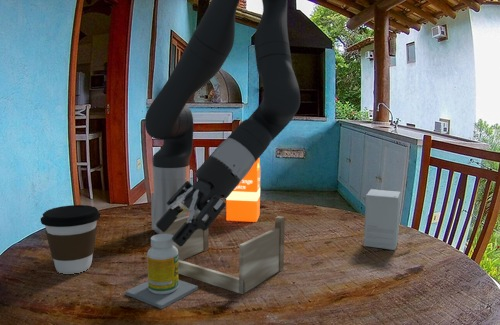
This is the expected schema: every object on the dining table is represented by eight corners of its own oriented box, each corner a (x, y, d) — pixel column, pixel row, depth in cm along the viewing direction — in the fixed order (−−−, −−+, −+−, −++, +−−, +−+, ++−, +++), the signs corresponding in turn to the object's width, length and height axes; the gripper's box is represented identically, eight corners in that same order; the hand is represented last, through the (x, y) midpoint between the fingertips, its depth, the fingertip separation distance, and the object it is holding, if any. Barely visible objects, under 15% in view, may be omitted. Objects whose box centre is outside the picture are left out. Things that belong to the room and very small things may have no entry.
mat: (125, 294, 75) (125, 291, 75) (162, 277, 82) (162, 274, 82) (161, 308, 70) (161, 305, 70) (198, 289, 77) (198, 286, 77)
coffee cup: (59, 258, 91) (56, 203, 89) (110, 259, 91) (108, 204, 89) (32, 279, 80) (28, 218, 79) (89, 280, 80) (86, 219, 78)
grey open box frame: (159, 267, 87) (158, 215, 85) (203, 248, 98) (203, 201, 97) (244, 294, 75) (244, 234, 73) (283, 269, 87) (284, 217, 85)
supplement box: (398, 241, 105) (402, 191, 103) (395, 251, 98) (398, 197, 96) (368, 237, 108) (370, 188, 106) (362, 246, 101) (365, 194, 99)
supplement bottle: (148, 283, 78) (146, 233, 76) (177, 280, 79) (176, 231, 78) (148, 296, 73) (146, 243, 71) (180, 293, 74) (179, 240, 72)
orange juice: (231, 213, 129) (231, 147, 126) (260, 214, 127) (260, 148, 124) (226, 220, 121) (226, 150, 118) (256, 222, 120) (257, 151, 117)
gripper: (197, 149, 84) (140, 213, 80) (231, 160, 71) (166, 235, 67) (221, 174, 87) (167, 236, 83) (257, 188, 75) (197, 261, 71)
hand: (167, 235), depth 75 cm, fingers open, 8 cm apart
